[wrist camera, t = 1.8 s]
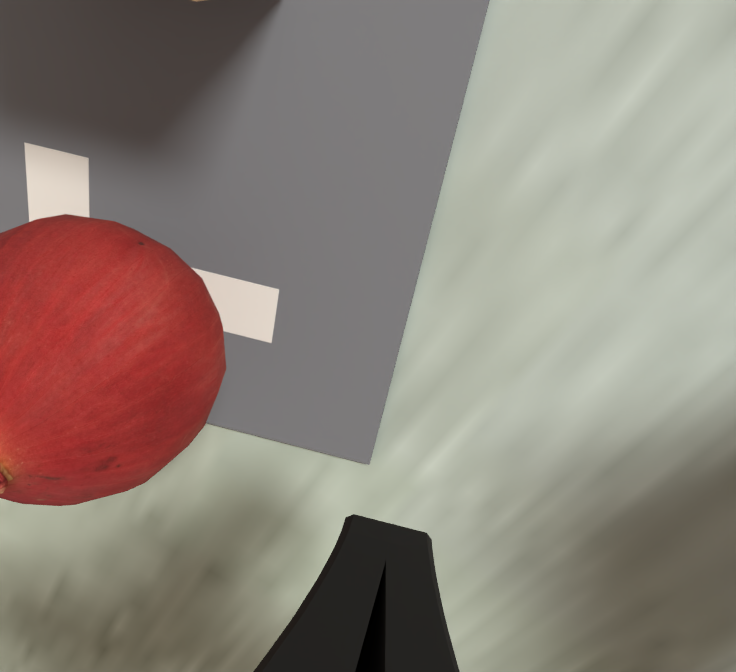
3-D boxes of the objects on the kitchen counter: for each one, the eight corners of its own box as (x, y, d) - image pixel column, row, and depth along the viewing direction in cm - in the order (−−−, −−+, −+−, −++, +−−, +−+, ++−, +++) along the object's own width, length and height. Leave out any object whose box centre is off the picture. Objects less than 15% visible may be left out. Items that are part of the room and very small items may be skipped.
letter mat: (597, -414, 10) (598, -422, 10) (370, 460, 19) (369, 465, 19) (-76, -554, 11) (-86, -563, 11) (7, 367, 20) (3, 371, 20)
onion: (173, 413, 19) (-1, 662, 12) (10, 271, 18) (-290, 464, 11) (311, 299, 17) (191, 529, 10) (136, 122, 15) (-150, 249, 8)
